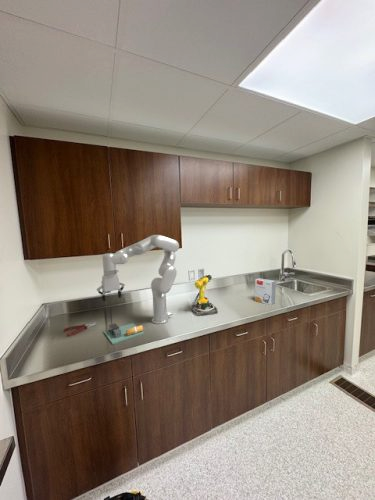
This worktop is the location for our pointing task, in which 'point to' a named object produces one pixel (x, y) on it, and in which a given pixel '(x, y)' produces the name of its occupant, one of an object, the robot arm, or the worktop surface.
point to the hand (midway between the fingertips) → (112, 299)
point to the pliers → (78, 328)
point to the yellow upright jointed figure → (203, 298)
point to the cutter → (115, 330)
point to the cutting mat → (125, 333)
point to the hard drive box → (265, 291)
